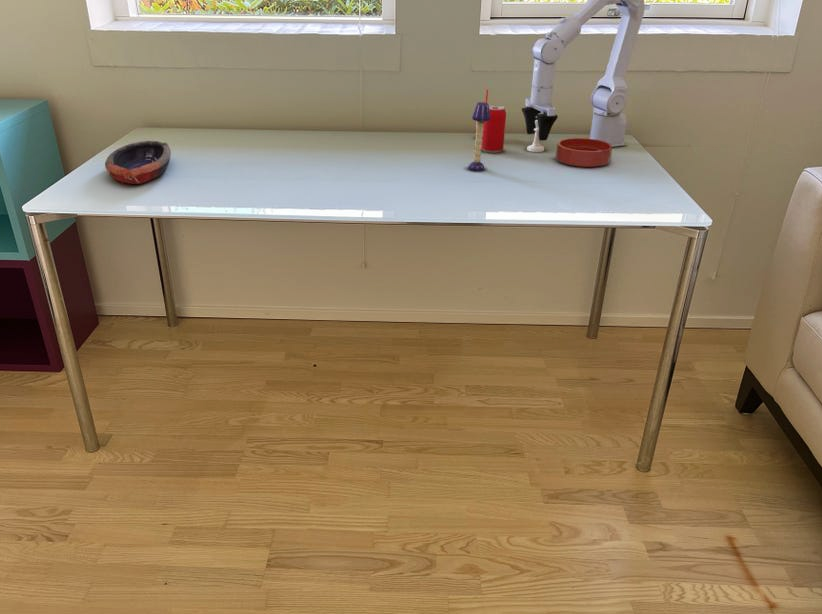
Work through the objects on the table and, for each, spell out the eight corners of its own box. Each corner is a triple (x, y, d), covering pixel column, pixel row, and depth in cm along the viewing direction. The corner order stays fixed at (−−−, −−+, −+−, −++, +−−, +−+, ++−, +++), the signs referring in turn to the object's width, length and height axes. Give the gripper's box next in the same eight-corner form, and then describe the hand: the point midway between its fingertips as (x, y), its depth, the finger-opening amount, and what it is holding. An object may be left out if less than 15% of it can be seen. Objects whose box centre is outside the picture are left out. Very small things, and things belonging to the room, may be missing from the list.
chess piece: (524, 147, 209) (528, 111, 204) (541, 147, 209) (545, 111, 204) (529, 152, 205) (533, 115, 200) (546, 151, 205) (550, 115, 200)
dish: (181, 155, 201) (179, 137, 199) (159, 189, 175) (156, 169, 172) (124, 156, 200) (121, 137, 198) (93, 191, 174) (89, 170, 171)
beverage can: (502, 148, 208) (506, 104, 202) (503, 154, 203) (507, 109, 197) (480, 147, 209) (483, 104, 203) (481, 153, 204) (484, 109, 197)
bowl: (577, 151, 206) (579, 135, 203) (620, 162, 196) (622, 145, 194) (544, 160, 198) (546, 143, 196) (587, 171, 189) (589, 154, 186)
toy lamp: (474, 165, 193) (478, 100, 185) (489, 168, 191) (494, 102, 182) (465, 169, 190) (469, 103, 181) (480, 172, 188) (485, 105, 179)
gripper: (517, 82, 203) (512, 131, 210) (541, 92, 191) (535, 144, 198) (540, 81, 205) (535, 130, 212) (565, 90, 193) (558, 142, 200)
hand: (536, 136), depth 205 cm, fingers open, 7 cm apart
